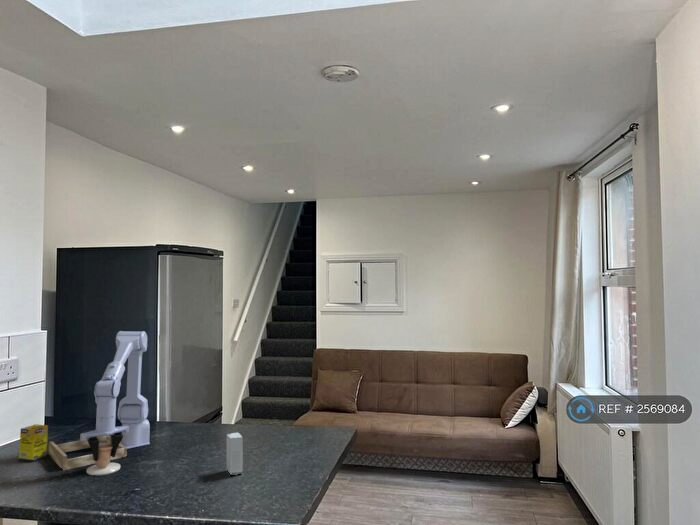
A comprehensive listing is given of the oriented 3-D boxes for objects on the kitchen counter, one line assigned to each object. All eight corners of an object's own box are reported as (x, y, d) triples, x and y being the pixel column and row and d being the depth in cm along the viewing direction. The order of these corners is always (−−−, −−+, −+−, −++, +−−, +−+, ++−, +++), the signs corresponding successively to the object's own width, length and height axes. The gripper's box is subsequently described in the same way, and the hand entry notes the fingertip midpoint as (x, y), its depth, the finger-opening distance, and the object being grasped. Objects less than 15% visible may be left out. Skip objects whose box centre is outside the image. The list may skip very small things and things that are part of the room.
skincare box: (243, 474, 158) (244, 436, 159) (229, 476, 156) (230, 438, 157) (238, 468, 164) (239, 431, 165) (225, 470, 162) (226, 433, 163)
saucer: (114, 462, 168) (114, 460, 168) (124, 470, 160) (124, 468, 160) (82, 469, 161) (82, 467, 161) (91, 478, 154) (91, 476, 154)
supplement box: (32, 462, 166) (34, 429, 167) (18, 460, 168) (19, 428, 168) (47, 456, 172) (48, 425, 173) (32, 455, 173) (34, 423, 174)
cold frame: (108, 443, 188) (108, 431, 188) (126, 456, 173) (127, 443, 174) (48, 454, 174) (49, 441, 174) (63, 470, 160) (63, 456, 160)
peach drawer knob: (107, 459, 165) (110, 441, 165) (112, 465, 161) (115, 447, 161) (91, 462, 161) (94, 444, 161) (96, 468, 158) (98, 450, 158)
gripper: (85, 422, 154) (83, 466, 153) (132, 415, 164) (131, 456, 163) (79, 418, 159) (77, 460, 158) (125, 411, 169) (123, 451, 168)
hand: (104, 458), depth 161 cm, fingers closed on peach drawer knob, 5 cm apart
